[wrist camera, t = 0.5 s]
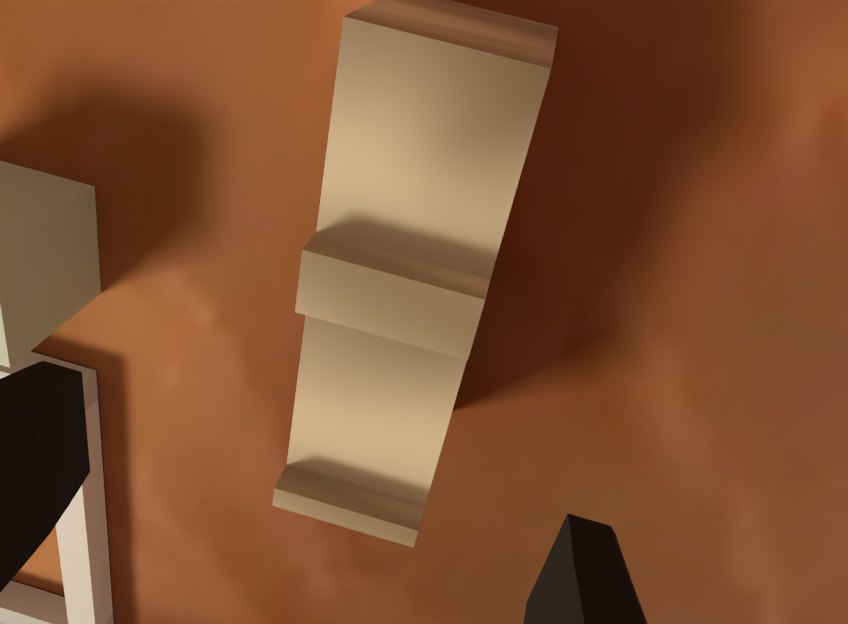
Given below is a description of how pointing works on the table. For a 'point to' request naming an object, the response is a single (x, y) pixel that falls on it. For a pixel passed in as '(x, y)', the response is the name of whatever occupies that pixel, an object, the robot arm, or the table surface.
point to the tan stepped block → (405, 249)
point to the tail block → (43, 256)
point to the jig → (72, 536)
